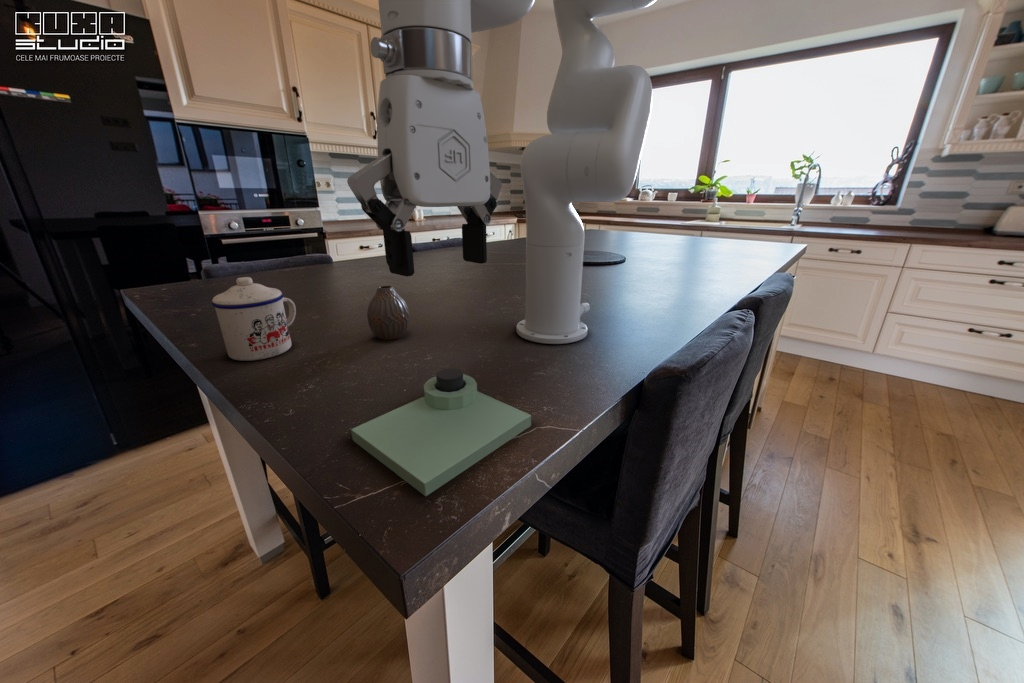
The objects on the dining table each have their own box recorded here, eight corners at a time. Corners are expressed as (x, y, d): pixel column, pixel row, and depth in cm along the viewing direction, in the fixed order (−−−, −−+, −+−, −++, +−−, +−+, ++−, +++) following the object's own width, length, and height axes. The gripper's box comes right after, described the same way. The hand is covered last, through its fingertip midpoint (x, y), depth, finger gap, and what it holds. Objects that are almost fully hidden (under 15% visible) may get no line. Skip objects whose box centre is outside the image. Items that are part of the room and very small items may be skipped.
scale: (454, 390, 50) (453, 368, 49) (531, 426, 42) (531, 401, 41) (350, 439, 40) (346, 413, 39) (425, 497, 33) (422, 467, 32)
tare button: (451, 379, 47) (451, 365, 47) (468, 386, 45) (468, 372, 45) (431, 387, 45) (430, 374, 45) (448, 396, 43) (448, 381, 43)
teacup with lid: (256, 366, 57) (236, 286, 53) (212, 357, 60) (190, 282, 56) (320, 338, 68) (307, 271, 63) (280, 332, 70) (265, 267, 66)
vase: (400, 344, 65) (394, 292, 62) (362, 341, 66) (354, 290, 63) (417, 331, 71) (413, 283, 68) (382, 328, 73) (376, 281, 69)
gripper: (358, 29, 26) (386, 287, 32) (525, 82, 38) (523, 261, 44) (308, 54, 31) (342, 275, 37) (472, 94, 43) (477, 254, 49)
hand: (441, 267), depth 40 cm, fingers open, 9 cm apart
